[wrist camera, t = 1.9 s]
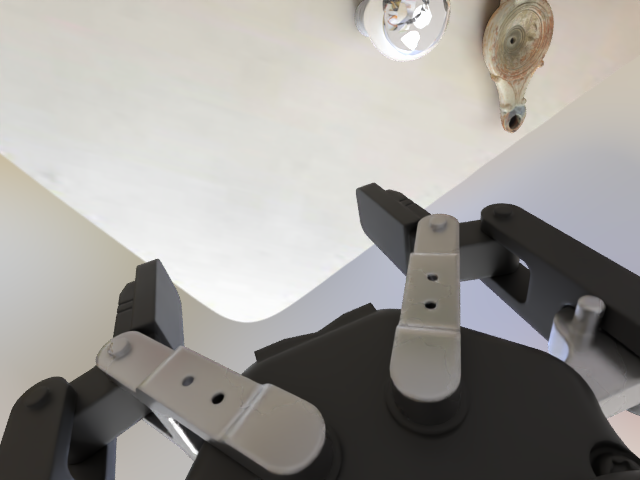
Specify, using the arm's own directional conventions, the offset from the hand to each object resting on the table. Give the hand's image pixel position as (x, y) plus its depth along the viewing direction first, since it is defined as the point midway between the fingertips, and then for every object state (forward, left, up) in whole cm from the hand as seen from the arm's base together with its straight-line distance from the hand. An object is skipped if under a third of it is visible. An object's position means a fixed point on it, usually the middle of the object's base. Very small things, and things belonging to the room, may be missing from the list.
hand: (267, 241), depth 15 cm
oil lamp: (-24, +27, -28) cm, 46 cm away
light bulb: (-16, +10, -28) cm, 34 cm away
